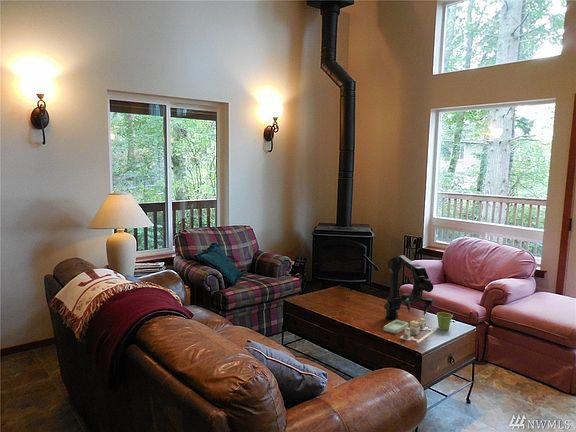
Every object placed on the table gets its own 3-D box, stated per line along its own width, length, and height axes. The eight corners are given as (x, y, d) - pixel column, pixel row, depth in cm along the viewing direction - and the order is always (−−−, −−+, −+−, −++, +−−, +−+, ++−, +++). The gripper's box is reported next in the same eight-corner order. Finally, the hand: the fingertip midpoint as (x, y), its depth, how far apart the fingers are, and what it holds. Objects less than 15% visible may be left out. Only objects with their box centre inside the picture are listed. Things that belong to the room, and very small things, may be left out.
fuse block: (399, 338, 238) (400, 328, 237) (419, 325, 258) (419, 316, 258) (418, 343, 231) (419, 333, 230) (436, 330, 251) (437, 321, 250)
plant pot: (433, 328, 254) (433, 314, 254) (439, 324, 261) (440, 311, 260) (448, 332, 248) (449, 318, 247) (454, 328, 255) (455, 314, 254)
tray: (383, 330, 249) (383, 326, 249) (395, 323, 262) (395, 319, 262) (396, 334, 244) (396, 330, 243) (408, 326, 256) (408, 322, 256)
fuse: (409, 333, 246) (409, 322, 245) (412, 331, 249) (413, 320, 249) (416, 335, 243) (417, 324, 242) (419, 333, 246) (420, 322, 246)
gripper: (397, 287, 243) (396, 313, 245) (428, 293, 232) (427, 320, 233) (404, 283, 252) (403, 308, 253) (435, 289, 240) (434, 315, 242)
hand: (416, 313), depth 245 cm, fingers open, 9 cm apart
